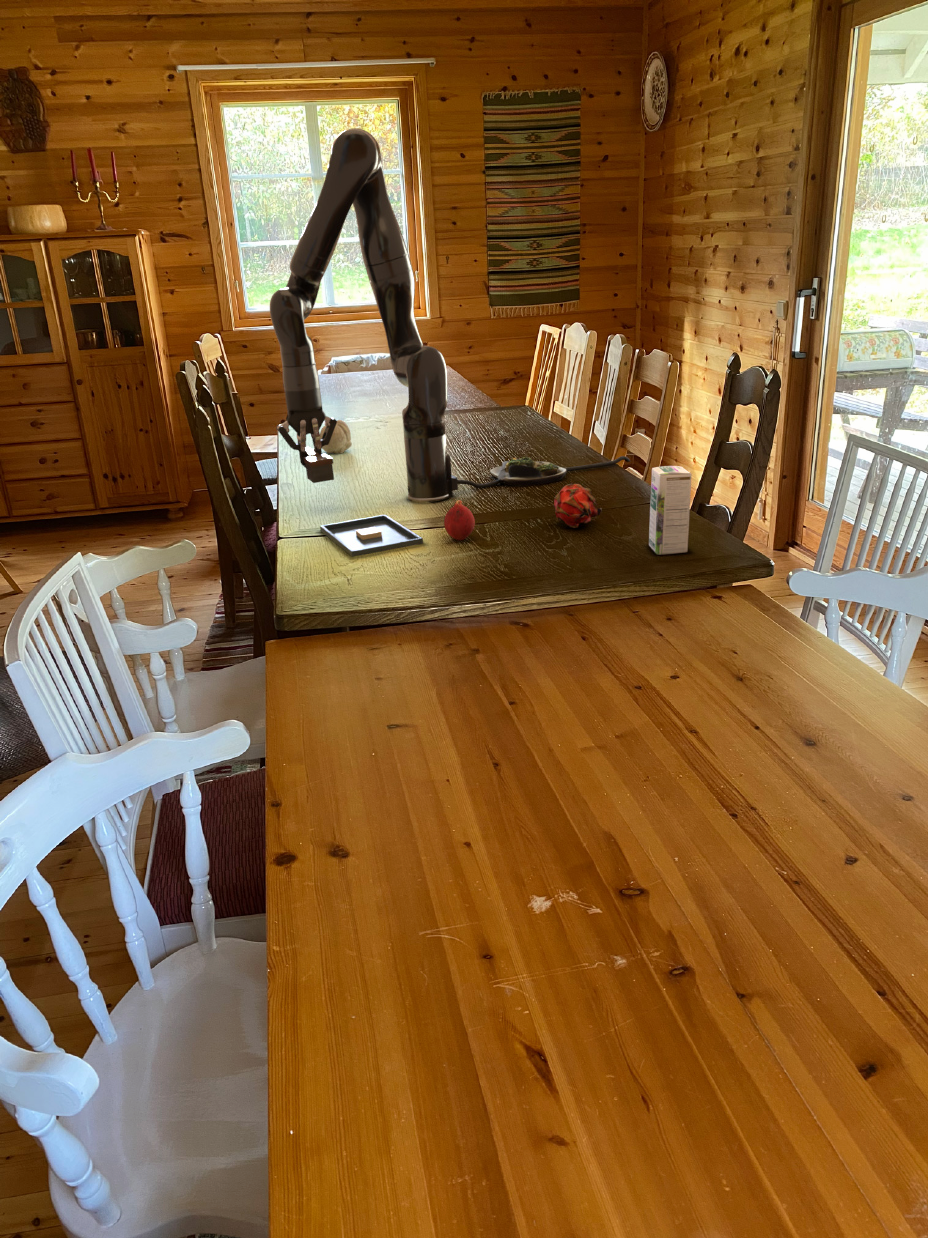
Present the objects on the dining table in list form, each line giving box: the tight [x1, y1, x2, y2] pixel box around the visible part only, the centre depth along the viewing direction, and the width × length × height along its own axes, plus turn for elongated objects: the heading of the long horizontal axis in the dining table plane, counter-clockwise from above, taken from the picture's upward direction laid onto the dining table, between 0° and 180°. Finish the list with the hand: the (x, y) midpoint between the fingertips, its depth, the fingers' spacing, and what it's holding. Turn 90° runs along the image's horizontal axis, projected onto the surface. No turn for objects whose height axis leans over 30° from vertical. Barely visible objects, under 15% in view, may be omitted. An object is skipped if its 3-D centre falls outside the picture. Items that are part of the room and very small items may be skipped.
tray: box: [319, 514, 424, 558], centre depth 179 cm, size 14×20×1 cm
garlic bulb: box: [319, 419, 353, 455], centre depth 258 cm, size 9×8×10 cm
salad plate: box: [490, 456, 567, 487], centre depth 220 cm, size 19×18×5 cm
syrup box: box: [648, 465, 693, 556], centre depth 161 cm, size 6×6×14 cm
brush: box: [303, 446, 335, 484], centre depth 200 cm, size 14×5×5 cm, turn 24°
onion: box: [443, 499, 476, 542], centre depth 173 cm, size 6×6×8 cm
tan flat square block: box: [356, 527, 382, 540], centre depth 180 cm, size 4×4×1 cm
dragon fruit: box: [553, 483, 603, 529], centre depth 180 cm, size 8×8×12 cm
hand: (312, 466), depth 202 cm, fingers closed on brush
